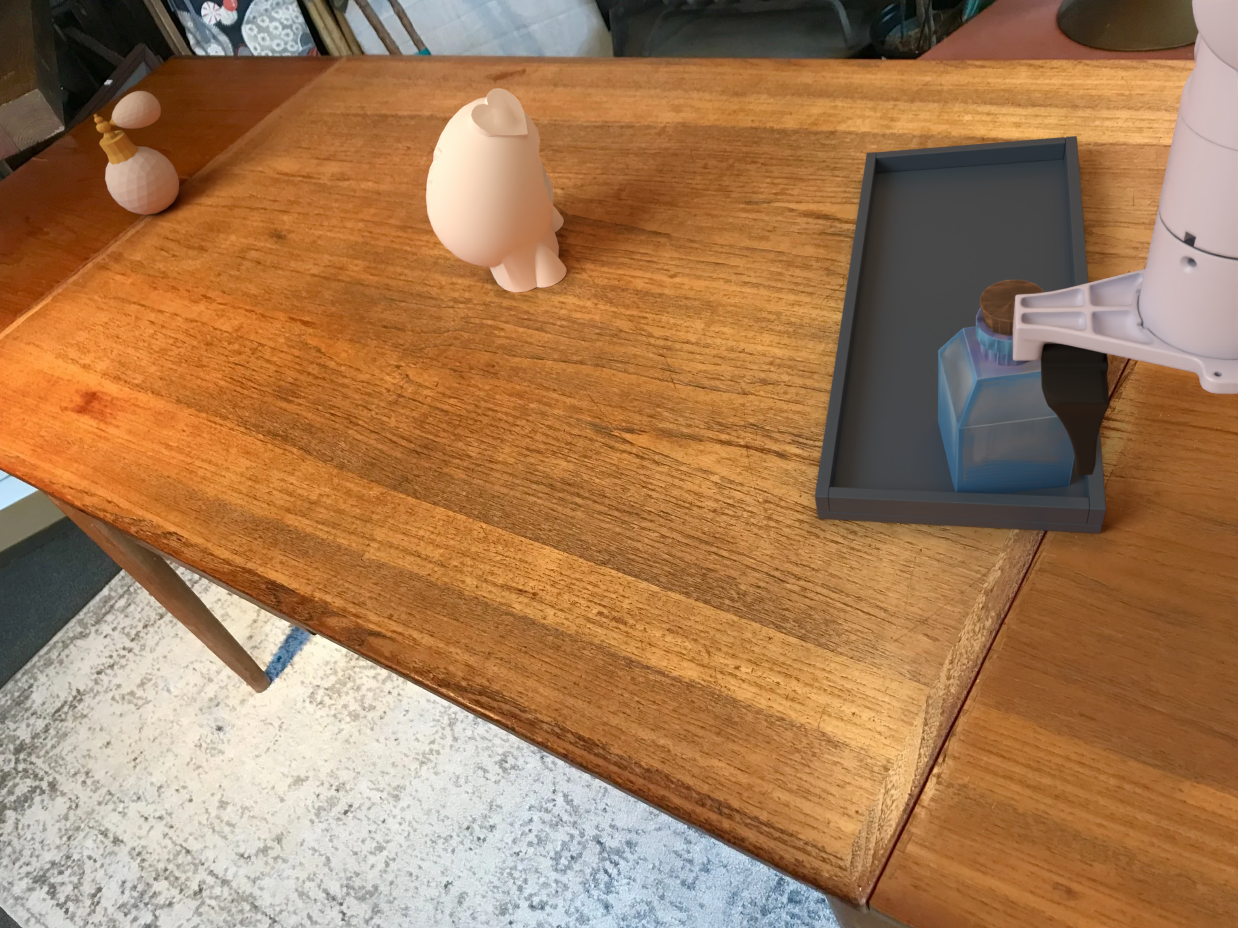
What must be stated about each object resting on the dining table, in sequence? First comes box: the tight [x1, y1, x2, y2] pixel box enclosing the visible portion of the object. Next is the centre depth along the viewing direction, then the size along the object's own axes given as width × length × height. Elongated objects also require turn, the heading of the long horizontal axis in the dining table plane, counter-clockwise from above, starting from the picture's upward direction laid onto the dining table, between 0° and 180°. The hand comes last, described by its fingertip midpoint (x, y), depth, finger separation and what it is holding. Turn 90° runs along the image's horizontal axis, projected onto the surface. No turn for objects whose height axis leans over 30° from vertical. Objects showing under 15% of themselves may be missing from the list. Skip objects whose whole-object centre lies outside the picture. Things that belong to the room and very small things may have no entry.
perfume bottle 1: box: [93, 90, 180, 216], centre depth 104 cm, size 8×10×12 cm
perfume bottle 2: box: [938, 280, 1074, 494], centre depth 52 cm, size 6×6×12 cm
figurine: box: [425, 87, 567, 293], centre depth 78 cm, size 11×11×15 cm
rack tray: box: [814, 135, 1107, 534], centre depth 64 cm, size 16×36×2 cm, turn 165°
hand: (1177, 460), depth 42 cm, fingers open, 7 cm apart
